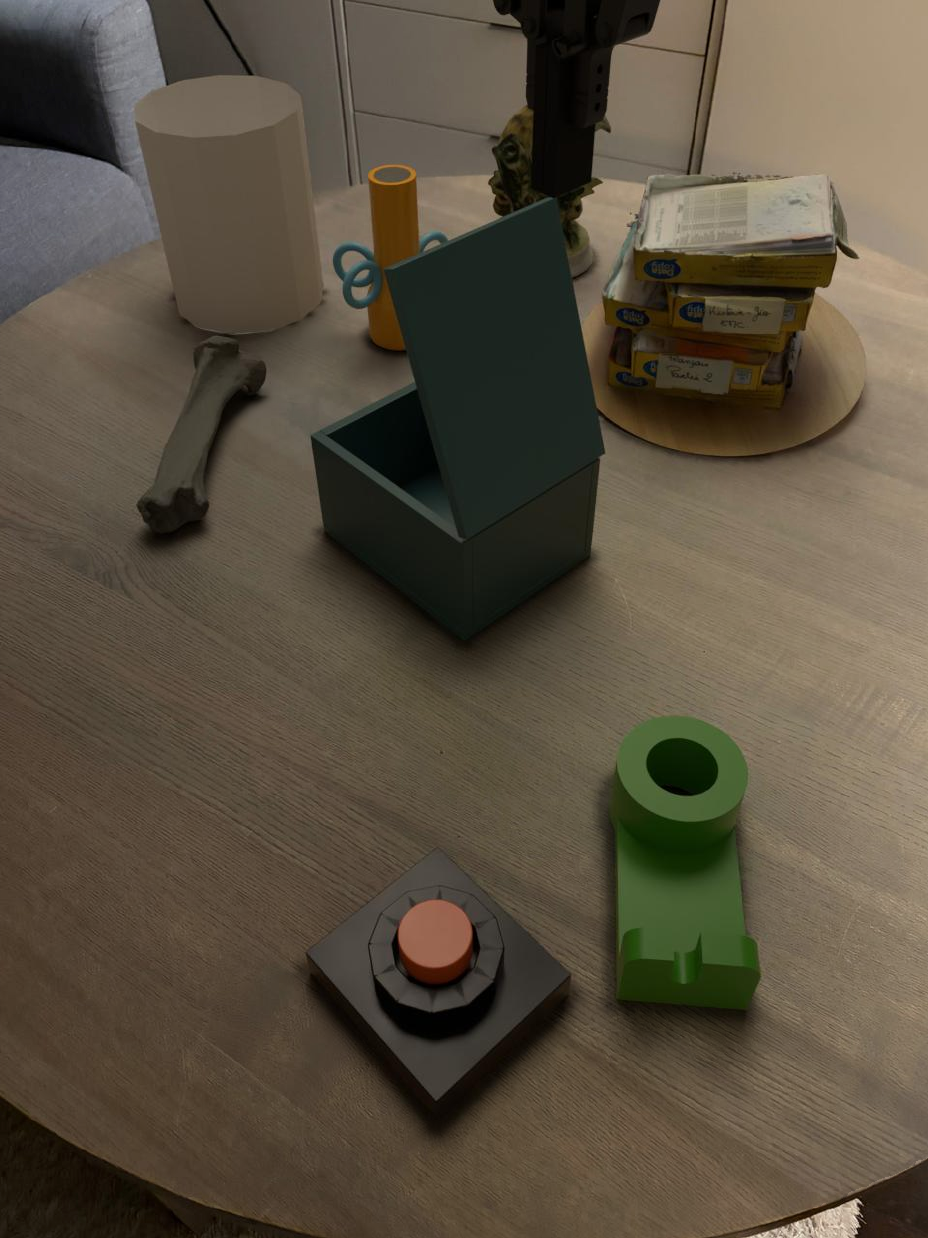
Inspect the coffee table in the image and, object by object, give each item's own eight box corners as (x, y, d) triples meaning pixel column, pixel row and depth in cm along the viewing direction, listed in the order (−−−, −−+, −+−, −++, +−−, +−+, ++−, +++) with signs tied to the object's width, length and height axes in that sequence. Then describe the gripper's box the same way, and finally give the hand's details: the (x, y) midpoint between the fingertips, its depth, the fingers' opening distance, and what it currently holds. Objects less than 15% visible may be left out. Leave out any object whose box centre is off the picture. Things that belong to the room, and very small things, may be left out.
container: (258, 247, 110) (228, 63, 97) (354, 290, 104) (336, 99, 91) (147, 300, 103) (99, 109, 90) (243, 350, 96) (205, 151, 83)
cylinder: (387, 382, 92) (374, 217, 82) (316, 337, 98) (296, 177, 87) (487, 332, 98) (488, 172, 87) (415, 292, 103) (408, 136, 93)
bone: (203, 378, 93) (188, 317, 89) (275, 379, 93) (264, 318, 88) (130, 542, 78) (108, 478, 74) (216, 545, 78) (198, 480, 73)
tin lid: (382, 268, 56) (391, 268, 55) (547, 197, 62) (556, 196, 61) (458, 537, 64) (466, 540, 64) (597, 451, 70) (605, 453, 69)
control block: (569, 994, 53) (574, 957, 50) (437, 1120, 49) (434, 1088, 46) (439, 867, 58) (436, 828, 56) (309, 971, 54) (300, 935, 51)
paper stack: (823, 488, 81) (883, 290, 69) (530, 411, 89) (538, 221, 77) (881, 336, 97) (938, 153, 85) (627, 281, 104) (647, 106, 92)
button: (488, 951, 51) (488, 934, 50) (432, 1000, 49) (431, 984, 48) (439, 902, 53) (438, 885, 52) (384, 948, 51) (382, 931, 50)
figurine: (622, 256, 108) (644, 45, 94) (527, 299, 102) (534, 82, 88) (546, 218, 114) (555, 15, 100) (451, 257, 108) (447, 47, 94)
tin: (323, 531, 79) (310, 434, 72) (448, 460, 84) (445, 365, 78) (464, 641, 70) (462, 544, 64) (591, 555, 76) (600, 458, 70)
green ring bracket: (609, 760, 63) (616, 711, 60) (728, 768, 63) (741, 719, 60) (610, 998, 53) (619, 956, 50) (752, 1010, 53) (771, 969, 49)
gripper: (388, -510, 37) (417, 167, 54) (682, -526, 30) (609, 255, 47) (538, -508, 40) (521, 127, 57) (832, -522, 33) (713, 203, 50)
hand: (561, 184), depth 52 cm, fingers closed
